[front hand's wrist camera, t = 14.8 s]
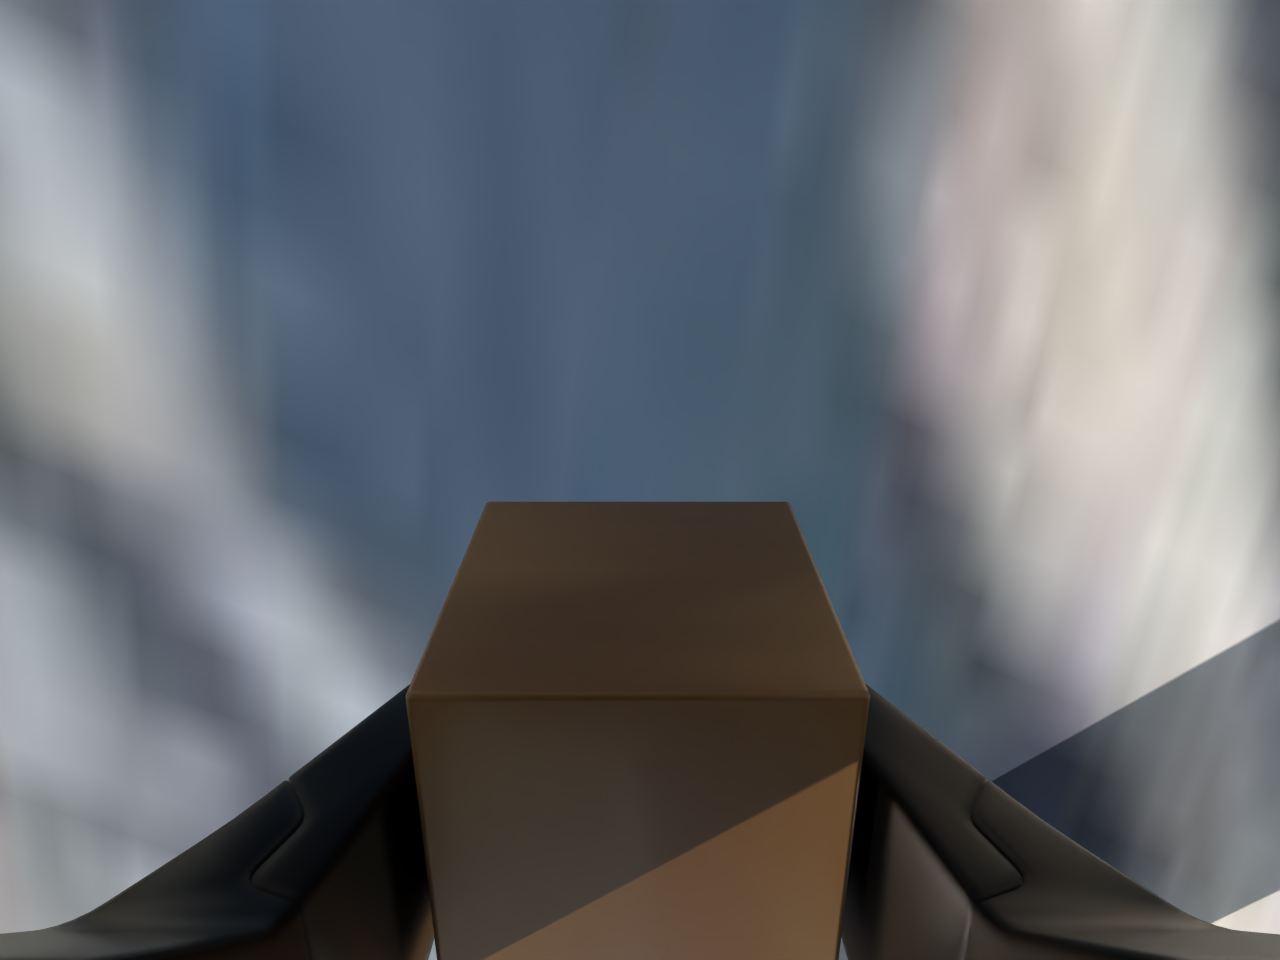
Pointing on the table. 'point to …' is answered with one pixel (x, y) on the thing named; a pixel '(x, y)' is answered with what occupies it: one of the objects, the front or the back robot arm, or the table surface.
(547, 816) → the brown rectangular block
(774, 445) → the table surface
